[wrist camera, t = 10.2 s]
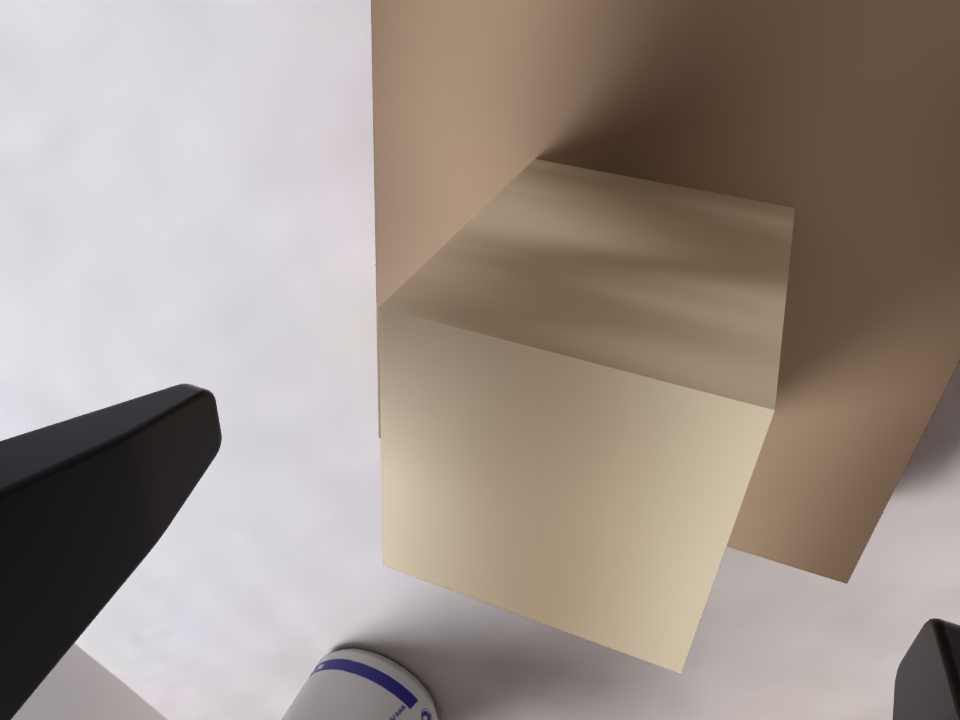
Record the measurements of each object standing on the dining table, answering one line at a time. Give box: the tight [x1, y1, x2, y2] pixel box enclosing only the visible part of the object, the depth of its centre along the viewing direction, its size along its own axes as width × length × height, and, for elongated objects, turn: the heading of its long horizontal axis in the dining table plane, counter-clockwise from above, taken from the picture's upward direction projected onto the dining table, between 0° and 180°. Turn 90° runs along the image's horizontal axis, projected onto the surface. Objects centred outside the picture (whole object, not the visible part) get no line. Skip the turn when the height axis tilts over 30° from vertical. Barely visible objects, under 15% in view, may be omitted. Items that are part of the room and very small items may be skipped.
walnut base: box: [371, 0, 960, 584], centre depth 15 cm, size 11×11×2 cm
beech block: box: [379, 159, 795, 674], centre depth 12 cm, size 4×4×6 cm
